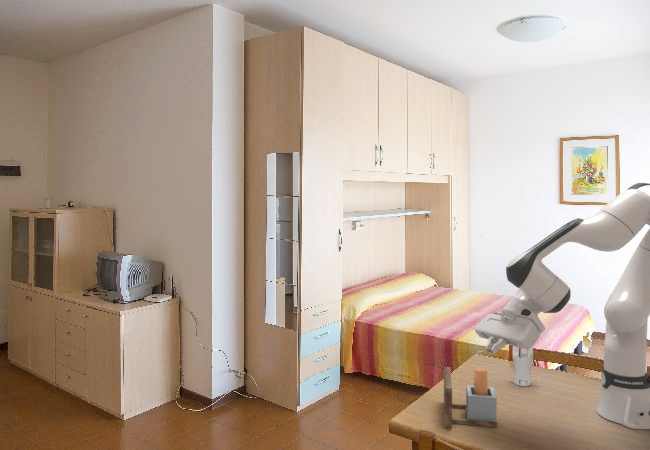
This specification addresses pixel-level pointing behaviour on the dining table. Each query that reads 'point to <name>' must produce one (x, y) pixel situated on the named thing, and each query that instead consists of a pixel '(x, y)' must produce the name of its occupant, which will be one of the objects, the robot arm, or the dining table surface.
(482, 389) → the dowel
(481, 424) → the backstop wall
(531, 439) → the dining table surface
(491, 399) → the socket block
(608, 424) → the dining table surface
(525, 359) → the beer glass
